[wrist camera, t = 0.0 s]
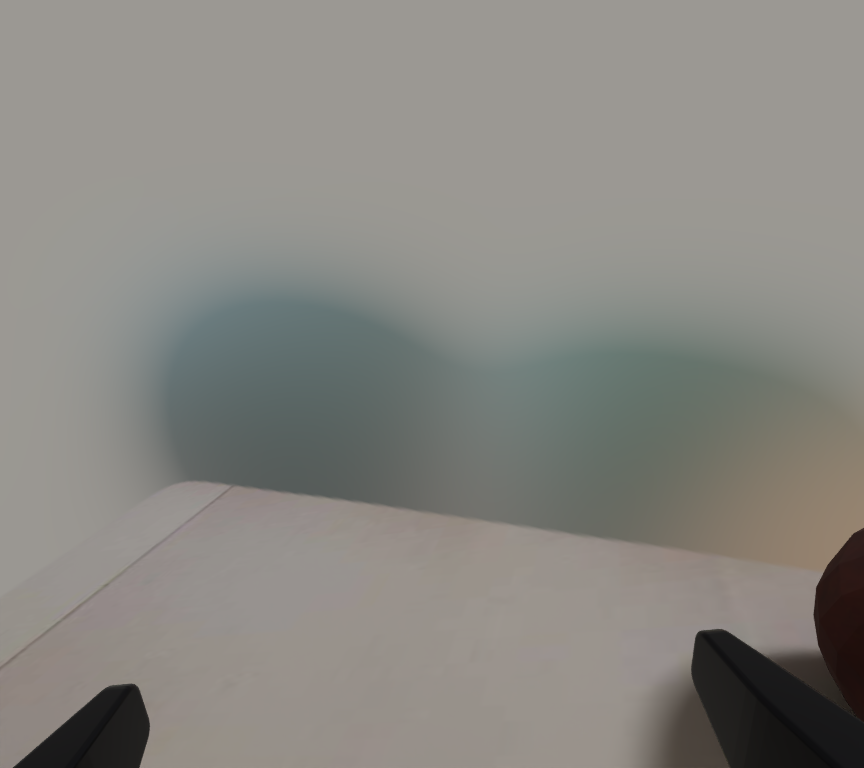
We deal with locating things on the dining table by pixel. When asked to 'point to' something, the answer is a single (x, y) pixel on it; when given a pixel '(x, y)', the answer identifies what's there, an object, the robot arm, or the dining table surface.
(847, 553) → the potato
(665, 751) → the dining table surface
